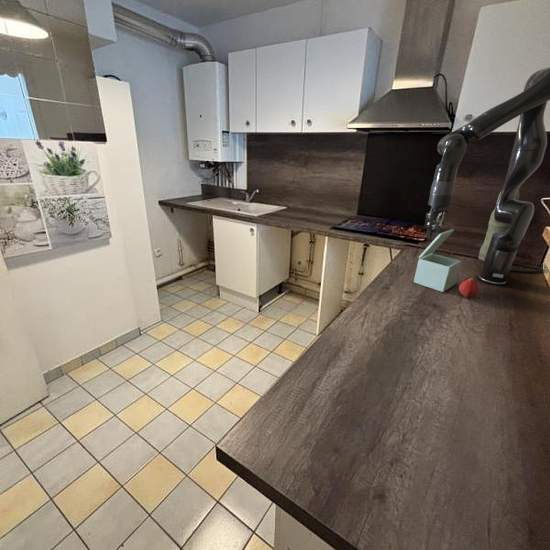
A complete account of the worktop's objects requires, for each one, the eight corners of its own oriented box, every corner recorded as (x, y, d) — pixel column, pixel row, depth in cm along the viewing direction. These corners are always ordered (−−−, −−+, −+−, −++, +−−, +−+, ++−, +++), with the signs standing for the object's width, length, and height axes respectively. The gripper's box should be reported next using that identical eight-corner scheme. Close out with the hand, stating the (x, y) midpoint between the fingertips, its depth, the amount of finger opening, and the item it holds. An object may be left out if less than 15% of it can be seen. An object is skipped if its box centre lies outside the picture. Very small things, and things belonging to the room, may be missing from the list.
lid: (454, 230, 114) (444, 222, 116) (441, 234, 107) (431, 226, 109) (432, 252, 122) (424, 245, 124) (419, 258, 116) (410, 250, 118)
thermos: (501, 259, 148) (526, 188, 134) (494, 264, 141) (519, 190, 127) (482, 255, 154) (503, 186, 140) (474, 259, 147) (496, 188, 133)
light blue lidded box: (454, 284, 119) (461, 260, 115) (442, 292, 112) (449, 267, 108) (426, 275, 127) (431, 253, 123) (413, 282, 120) (418, 258, 116)
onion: (453, 294, 110) (458, 274, 107) (467, 293, 111) (473, 274, 108) (463, 301, 105) (469, 281, 102) (478, 300, 106) (485, 280, 102)
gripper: (443, 195, 102) (433, 242, 109) (459, 192, 111) (449, 236, 117) (422, 193, 108) (413, 238, 114) (439, 191, 116) (430, 232, 123)
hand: (431, 237), depth 116 cm, fingers closed on lid, 5 cm apart
